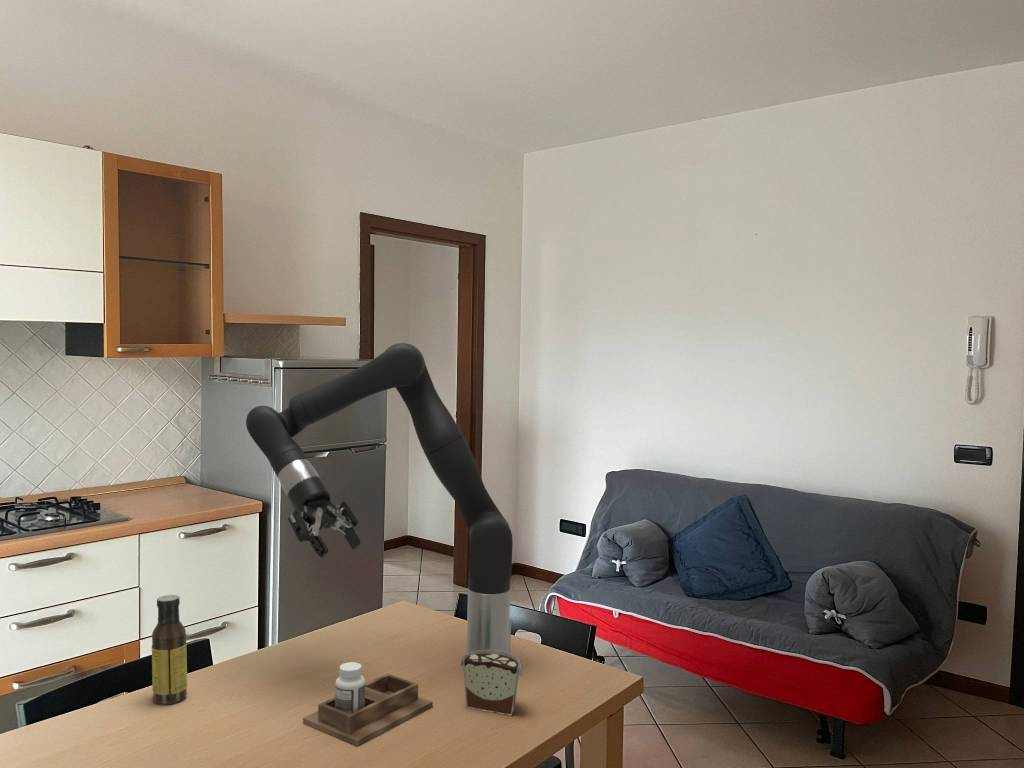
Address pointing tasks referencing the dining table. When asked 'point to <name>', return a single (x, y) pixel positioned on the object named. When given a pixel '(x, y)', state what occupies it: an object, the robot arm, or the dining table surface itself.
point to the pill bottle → (350, 688)
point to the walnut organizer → (371, 711)
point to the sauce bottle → (169, 653)
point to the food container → (491, 680)
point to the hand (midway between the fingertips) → (341, 550)
